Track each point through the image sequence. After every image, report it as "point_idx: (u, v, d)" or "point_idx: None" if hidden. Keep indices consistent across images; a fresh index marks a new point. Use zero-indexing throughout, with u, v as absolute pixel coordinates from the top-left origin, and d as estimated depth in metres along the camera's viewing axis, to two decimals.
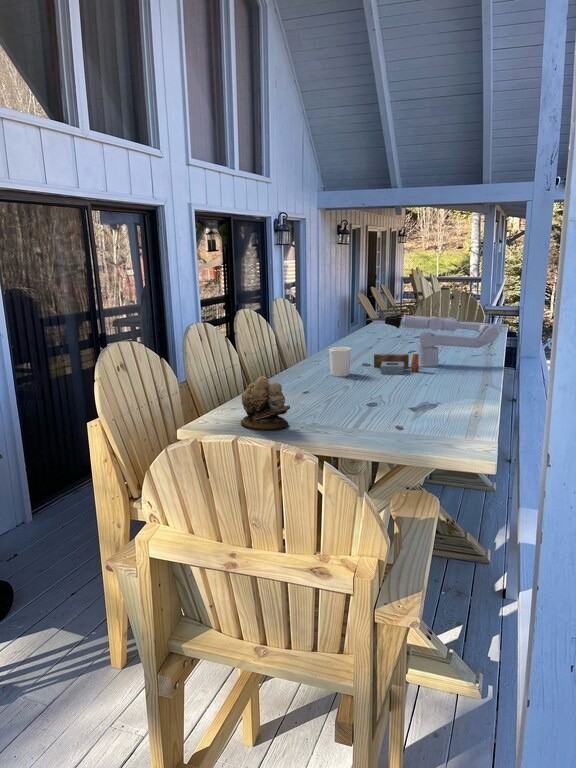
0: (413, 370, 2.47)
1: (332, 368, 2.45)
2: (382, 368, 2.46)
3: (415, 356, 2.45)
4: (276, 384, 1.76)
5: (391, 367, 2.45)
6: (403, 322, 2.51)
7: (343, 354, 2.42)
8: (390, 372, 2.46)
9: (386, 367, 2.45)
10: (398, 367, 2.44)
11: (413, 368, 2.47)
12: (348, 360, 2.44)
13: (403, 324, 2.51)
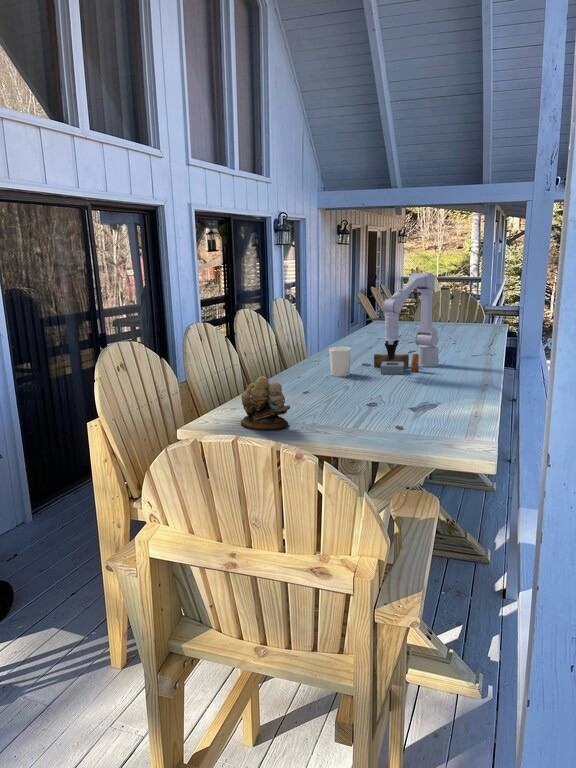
0: (413, 370, 2.47)
1: (332, 368, 2.45)
2: (382, 368, 2.46)
3: (415, 356, 2.45)
4: (276, 384, 1.76)
5: (391, 367, 2.45)
6: (389, 341, 2.30)
7: (343, 354, 2.42)
8: (390, 372, 2.46)
9: (386, 367, 2.45)
10: (398, 367, 2.44)
11: (413, 368, 2.47)
12: (348, 360, 2.44)
13: (392, 341, 2.30)
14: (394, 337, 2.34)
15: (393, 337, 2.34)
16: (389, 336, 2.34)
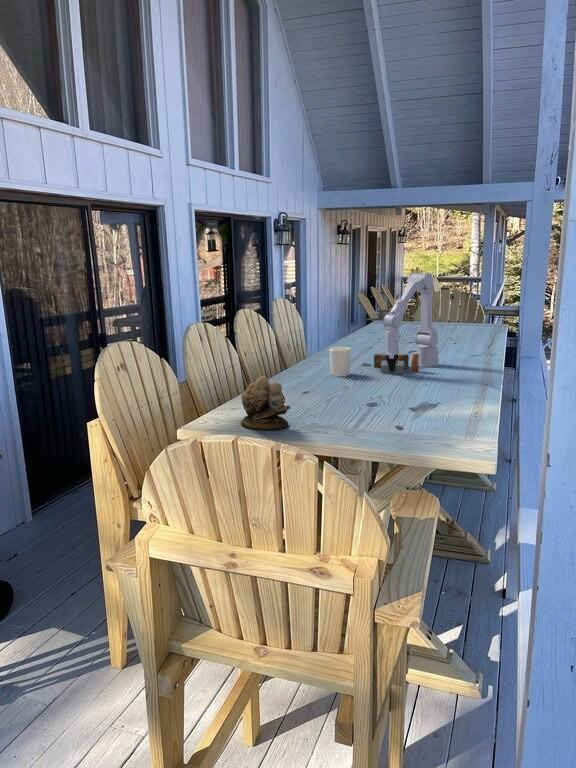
0: (413, 370, 2.47)
1: (332, 368, 2.45)
2: (382, 367, 2.47)
3: (415, 356, 2.45)
4: (276, 384, 1.76)
5: None
6: (390, 355, 2.36)
7: (343, 354, 2.42)
8: None
9: (386, 366, 2.46)
10: (398, 366, 2.45)
11: (413, 368, 2.47)
12: (348, 360, 2.44)
13: (392, 355, 2.36)
14: (394, 351, 2.40)
15: (393, 351, 2.40)
16: (389, 350, 2.40)
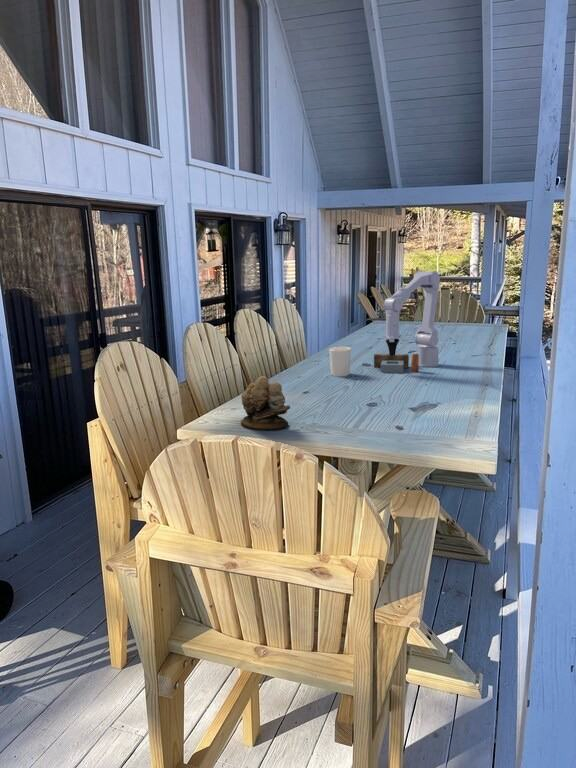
0: (413, 370, 2.47)
1: (332, 368, 2.45)
2: (382, 367, 2.49)
3: (415, 356, 2.45)
4: (276, 384, 1.76)
5: (391, 366, 2.48)
6: (390, 339, 2.36)
7: (343, 354, 2.42)
8: (390, 371, 2.48)
9: (386, 366, 2.48)
10: (398, 366, 2.47)
11: (413, 368, 2.47)
12: (348, 360, 2.44)
13: (392, 339, 2.35)
14: (395, 335, 2.40)
15: (394, 335, 2.39)
16: (390, 334, 2.40)
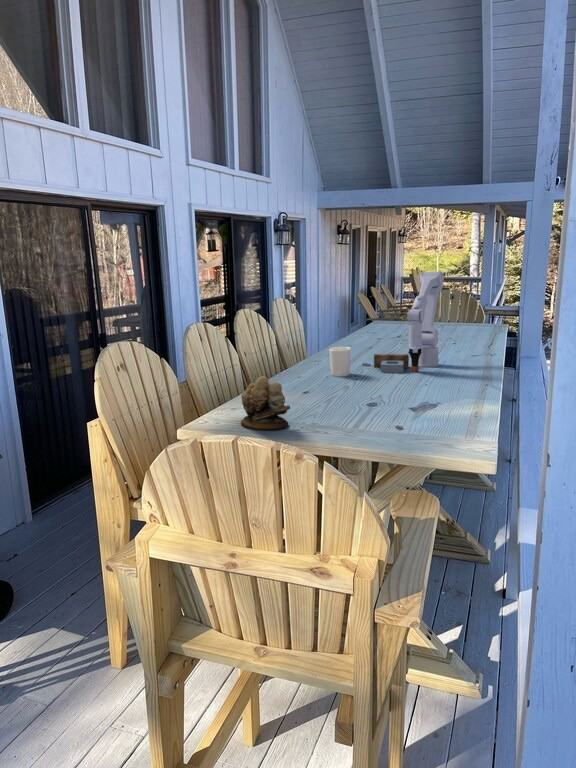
0: (413, 370, 2.47)
1: (332, 368, 2.45)
2: (382, 367, 2.49)
3: None
4: (276, 384, 1.76)
5: (391, 366, 2.48)
6: (414, 349, 2.39)
7: (343, 354, 2.42)
8: (390, 371, 2.48)
9: (386, 366, 2.48)
10: (398, 366, 2.47)
11: (413, 368, 2.47)
12: (348, 360, 2.44)
13: (416, 349, 2.39)
14: (418, 345, 2.43)
15: (417, 345, 2.43)
16: (413, 344, 2.43)
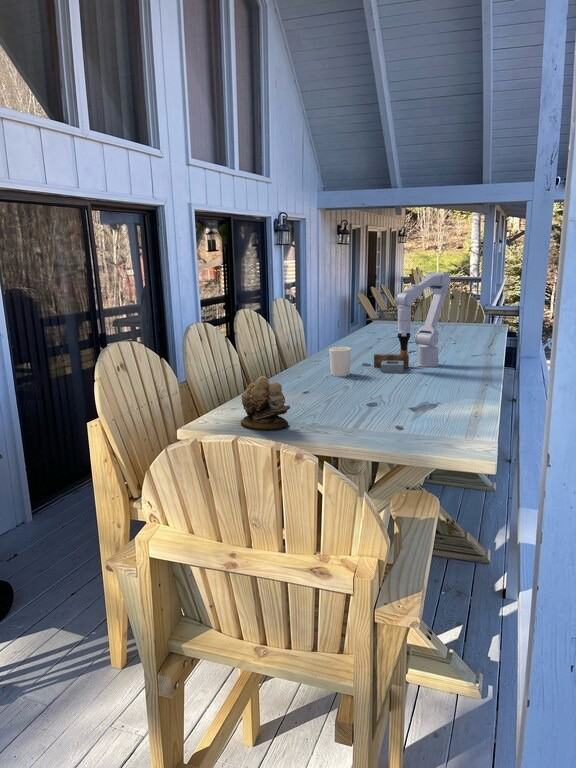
0: (402, 354, 2.47)
1: (332, 368, 2.45)
2: (382, 367, 2.49)
3: None
4: (276, 384, 1.76)
5: (391, 366, 2.48)
6: (402, 333, 2.39)
7: (343, 354, 2.42)
8: (390, 371, 2.48)
9: (386, 366, 2.48)
10: (398, 366, 2.47)
11: (402, 352, 2.47)
12: (348, 360, 2.44)
13: (405, 333, 2.39)
14: (407, 329, 2.43)
15: (406, 329, 2.43)
16: (402, 328, 2.43)
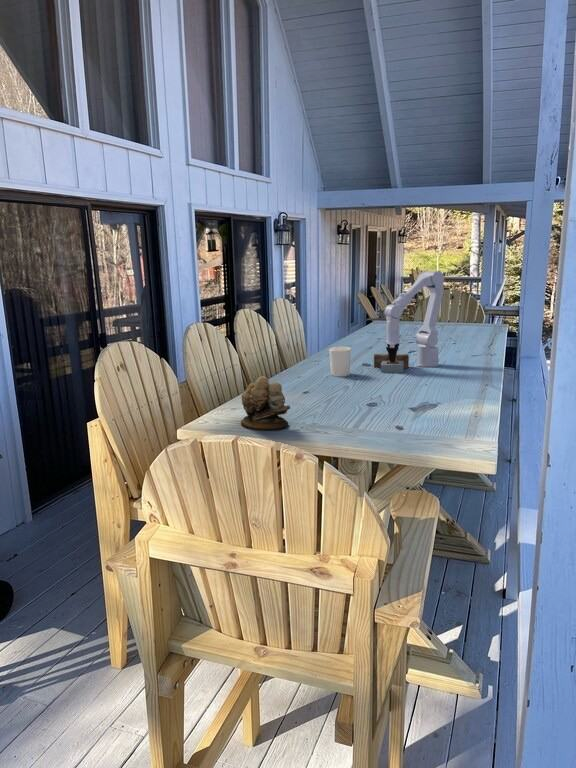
0: None
1: (332, 368, 2.45)
2: (382, 367, 2.49)
3: None
4: (276, 384, 1.76)
5: (391, 366, 2.48)
6: (391, 345, 2.43)
7: (343, 354, 2.42)
8: (390, 371, 2.48)
9: (386, 366, 2.48)
10: (398, 366, 2.47)
11: None
12: (348, 360, 2.44)
13: (393, 344, 2.43)
14: (395, 341, 2.47)
15: (394, 341, 2.47)
16: (390, 340, 2.47)
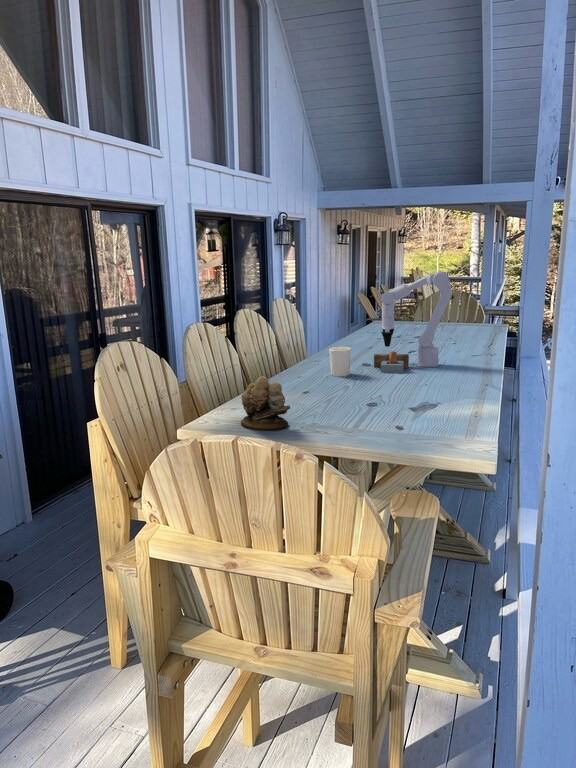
0: None
1: (332, 368, 2.45)
2: (382, 367, 2.49)
3: (393, 354, 2.50)
4: (276, 384, 1.76)
5: (391, 366, 2.48)
6: (386, 329, 2.55)
7: (343, 354, 2.42)
8: (390, 371, 2.48)
9: (386, 366, 2.48)
10: (398, 366, 2.47)
11: None
12: (348, 360, 2.44)
13: (388, 329, 2.55)
14: (390, 326, 2.59)
15: (389, 326, 2.59)
16: (385, 325, 2.60)
